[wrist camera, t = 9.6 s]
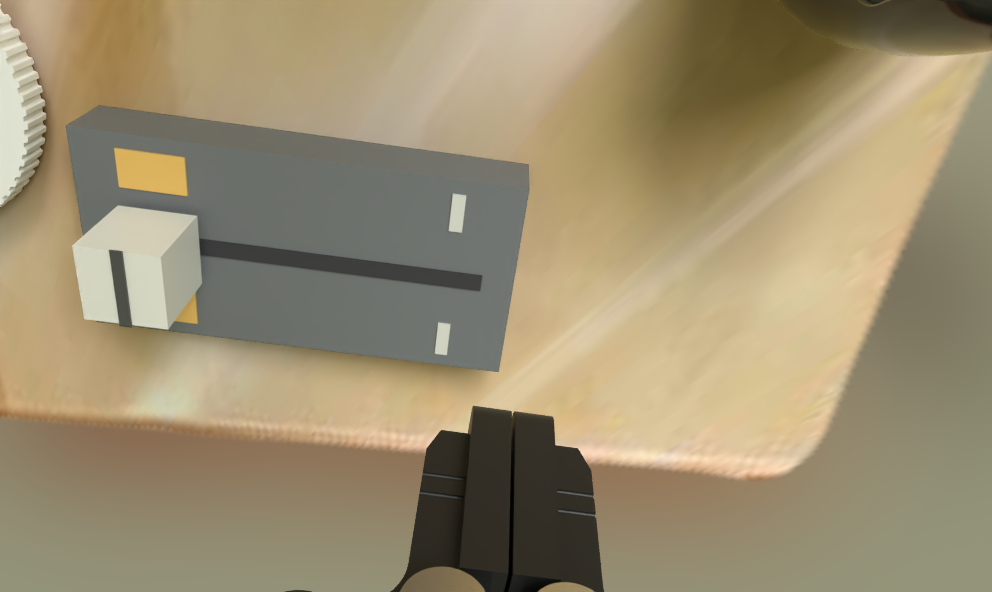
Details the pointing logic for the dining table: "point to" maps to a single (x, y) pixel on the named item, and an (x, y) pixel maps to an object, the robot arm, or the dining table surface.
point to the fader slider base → (320, 233)
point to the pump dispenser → (899, 24)
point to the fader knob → (138, 267)
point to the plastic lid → (18, 113)
